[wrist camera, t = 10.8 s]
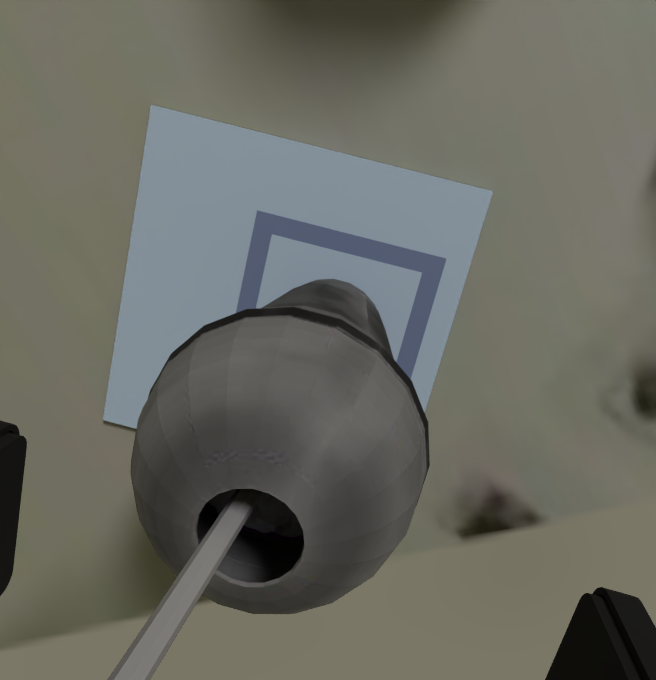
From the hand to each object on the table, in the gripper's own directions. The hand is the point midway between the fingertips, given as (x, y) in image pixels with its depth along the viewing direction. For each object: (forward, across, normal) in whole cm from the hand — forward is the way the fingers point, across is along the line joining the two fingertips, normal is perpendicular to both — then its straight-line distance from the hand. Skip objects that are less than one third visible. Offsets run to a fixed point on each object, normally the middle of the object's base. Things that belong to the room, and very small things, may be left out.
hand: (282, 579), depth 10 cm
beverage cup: (+17, +1, +1) cm, 17 cm away
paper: (+17, +3, 0) cm, 18 cm away
